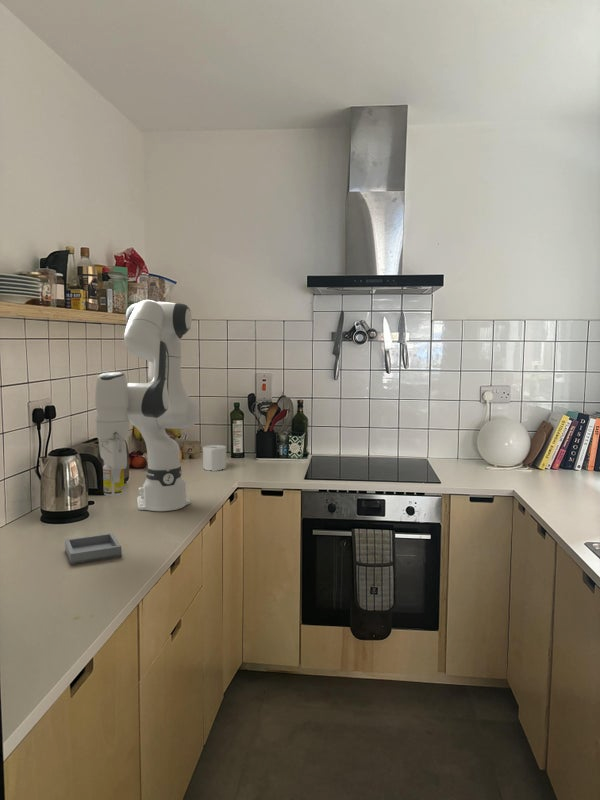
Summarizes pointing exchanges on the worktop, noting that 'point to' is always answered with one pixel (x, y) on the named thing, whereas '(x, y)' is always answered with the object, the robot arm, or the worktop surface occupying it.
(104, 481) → the supplement bottle
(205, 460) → the toilet tissue
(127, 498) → the worktop surface
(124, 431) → the robot arm
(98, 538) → the tray
